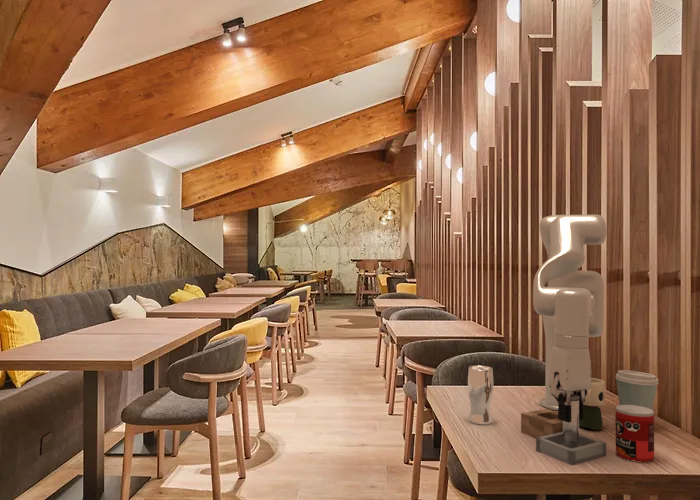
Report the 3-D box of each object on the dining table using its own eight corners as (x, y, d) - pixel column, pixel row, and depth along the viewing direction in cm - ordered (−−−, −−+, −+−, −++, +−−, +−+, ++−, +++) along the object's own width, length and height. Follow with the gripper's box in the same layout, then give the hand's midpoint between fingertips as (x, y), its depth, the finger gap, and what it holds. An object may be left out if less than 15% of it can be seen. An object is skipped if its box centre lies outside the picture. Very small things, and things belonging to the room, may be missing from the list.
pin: (569, 442, 126) (569, 392, 126) (582, 446, 123) (582, 395, 123) (559, 444, 124) (559, 393, 125) (572, 449, 121) (572, 397, 121)
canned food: (608, 450, 125) (608, 404, 126) (640, 450, 126) (640, 404, 126) (628, 463, 118) (628, 414, 118) (661, 462, 118) (661, 413, 119)
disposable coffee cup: (622, 417, 152) (622, 366, 152) (664, 426, 144) (664, 372, 145) (609, 425, 145) (609, 371, 145) (652, 435, 137) (652, 377, 137)
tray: (569, 442, 131) (569, 430, 131) (606, 455, 122) (606, 442, 122) (535, 450, 125) (536, 437, 125) (572, 464, 116) (572, 451, 116)
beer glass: (493, 426, 143) (494, 371, 143) (467, 424, 144) (468, 369, 144) (492, 418, 150) (492, 366, 150) (467, 416, 151) (467, 364, 151)
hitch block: (546, 426, 143) (547, 408, 143) (578, 438, 134) (579, 418, 134) (521, 432, 138) (521, 413, 138) (552, 444, 129) (552, 423, 129)
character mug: (603, 435, 136) (603, 385, 136) (573, 431, 140) (573, 382, 140) (606, 424, 146) (606, 377, 146) (578, 420, 149) (578, 374, 149)
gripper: (580, 337, 131) (579, 411, 131) (534, 342, 123) (533, 420, 123) (607, 341, 125) (607, 419, 125) (561, 346, 117) (560, 429, 116)
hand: (570, 418), depth 124 cm, fingers closed on pin, 3 cm apart
